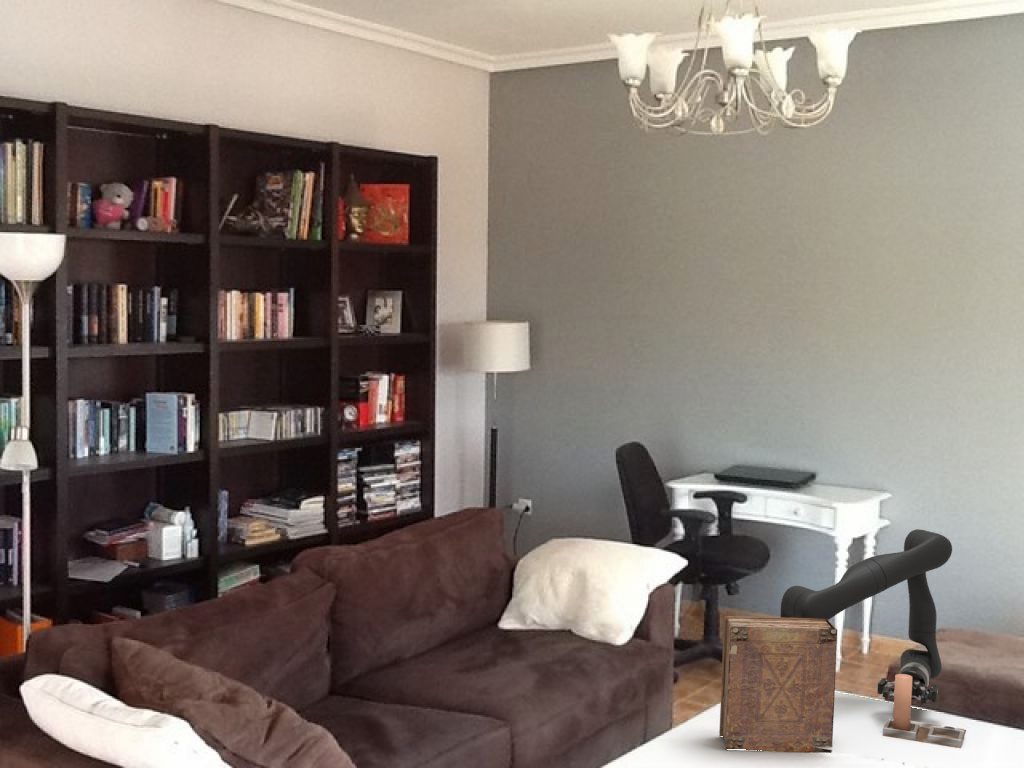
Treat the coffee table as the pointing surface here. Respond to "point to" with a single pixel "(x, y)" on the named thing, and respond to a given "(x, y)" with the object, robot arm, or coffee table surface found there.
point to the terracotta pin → (902, 702)
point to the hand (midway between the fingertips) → (904, 698)
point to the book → (778, 684)
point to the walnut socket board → (927, 733)
